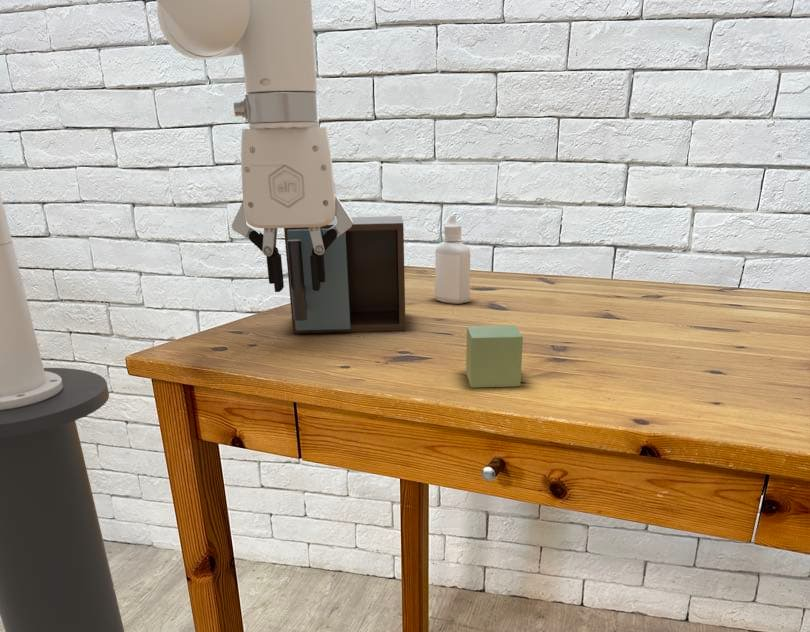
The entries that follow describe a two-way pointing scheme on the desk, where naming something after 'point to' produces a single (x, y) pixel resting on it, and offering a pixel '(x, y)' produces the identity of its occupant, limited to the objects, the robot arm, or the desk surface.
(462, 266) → the eye dropper bottle
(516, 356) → the block
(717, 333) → the desk surface
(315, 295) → the closet door
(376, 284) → the closet
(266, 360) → the desk surface
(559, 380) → the desk surface
